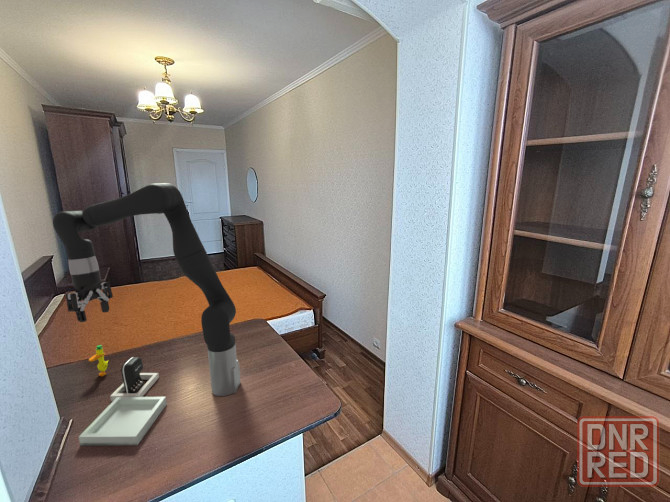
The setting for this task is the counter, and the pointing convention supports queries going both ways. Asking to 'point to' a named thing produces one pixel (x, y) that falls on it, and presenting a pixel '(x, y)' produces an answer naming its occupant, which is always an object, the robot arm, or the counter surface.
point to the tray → (123, 421)
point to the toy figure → (100, 360)
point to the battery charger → (132, 374)
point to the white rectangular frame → (144, 376)
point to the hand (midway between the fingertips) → (94, 316)
